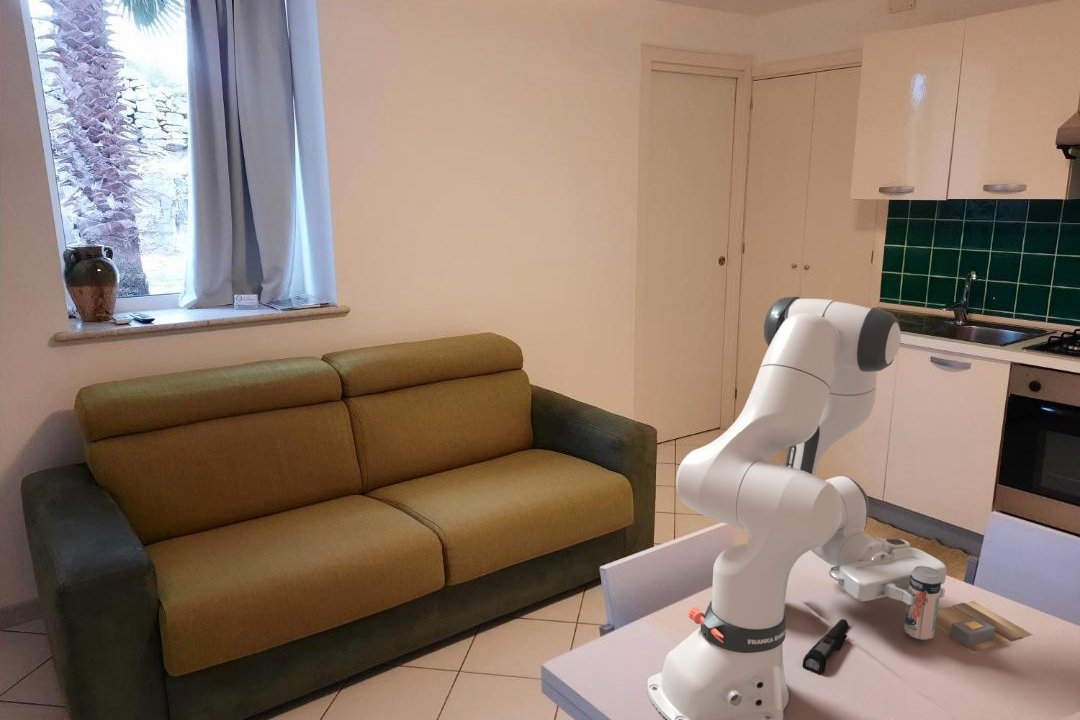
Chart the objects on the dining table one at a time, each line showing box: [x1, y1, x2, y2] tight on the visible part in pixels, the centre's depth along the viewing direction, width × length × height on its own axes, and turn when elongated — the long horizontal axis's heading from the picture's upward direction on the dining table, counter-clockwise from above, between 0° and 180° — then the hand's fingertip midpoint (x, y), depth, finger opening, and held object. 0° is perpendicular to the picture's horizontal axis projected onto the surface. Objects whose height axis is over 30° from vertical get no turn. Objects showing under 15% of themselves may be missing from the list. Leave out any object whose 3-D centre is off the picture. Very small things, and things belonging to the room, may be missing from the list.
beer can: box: [903, 566, 942, 641], centre depth 131 cm, size 5×5×12 cm
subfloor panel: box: [935, 600, 1033, 652], centre depth 137 cm, size 14×12×2 cm
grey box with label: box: [949, 617, 995, 648], centre depth 133 cm, size 6×4×3 cm, turn 110°
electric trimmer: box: [801, 618, 850, 676], centre depth 132 cm, size 4×16×3 cm, turn 139°
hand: (927, 597), depth 130 cm, fingers closed on beer can, 5 cm apart
